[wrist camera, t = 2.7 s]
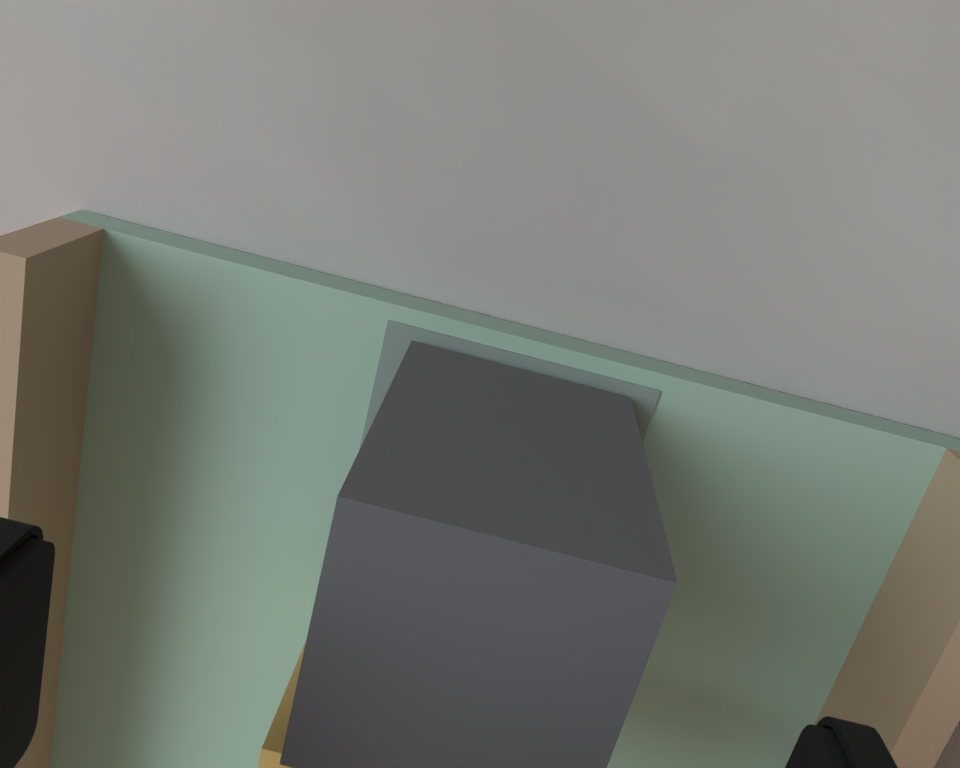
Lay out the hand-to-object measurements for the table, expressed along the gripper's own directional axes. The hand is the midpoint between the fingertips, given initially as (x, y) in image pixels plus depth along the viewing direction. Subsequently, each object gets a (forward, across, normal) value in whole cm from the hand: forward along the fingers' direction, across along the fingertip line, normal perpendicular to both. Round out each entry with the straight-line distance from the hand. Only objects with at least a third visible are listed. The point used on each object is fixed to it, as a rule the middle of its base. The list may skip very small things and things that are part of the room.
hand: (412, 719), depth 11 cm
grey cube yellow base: (+6, -1, +1) cm, 6 cm away
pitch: (+7, -1, +7) cm, 10 cm away
